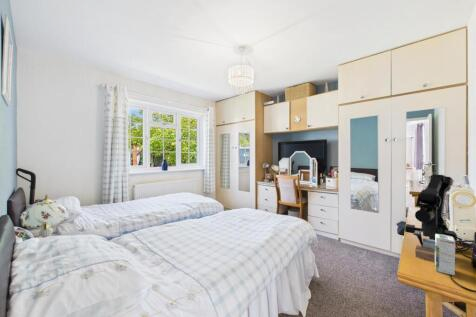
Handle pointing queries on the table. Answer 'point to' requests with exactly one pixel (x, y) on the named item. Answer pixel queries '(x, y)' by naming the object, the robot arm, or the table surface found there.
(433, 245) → the painted cube
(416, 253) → the walnut block
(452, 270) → the syrup box
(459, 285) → the table surface
